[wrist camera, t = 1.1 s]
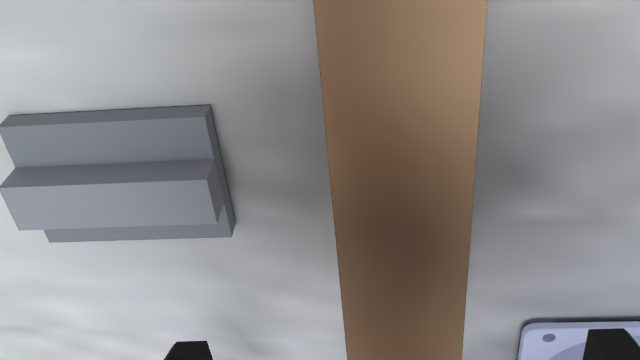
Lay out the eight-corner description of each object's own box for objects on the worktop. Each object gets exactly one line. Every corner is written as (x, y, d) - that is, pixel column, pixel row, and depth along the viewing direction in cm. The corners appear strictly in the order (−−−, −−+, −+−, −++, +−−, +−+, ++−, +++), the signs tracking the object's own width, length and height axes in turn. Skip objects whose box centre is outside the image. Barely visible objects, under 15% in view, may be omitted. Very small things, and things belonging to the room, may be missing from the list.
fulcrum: (209, 105, 20) (196, 136, 18) (235, 222, 23) (225, 259, 21) (8, 115, 21) (-22, 146, 19) (58, 228, 23) (35, 264, 22)
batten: (458, -184, 15) (498, -156, 11) (441, 280, 24) (458, 401, 20) (319, -171, 15) (300, -138, 11) (353, 282, 25) (351, 401, 20)
